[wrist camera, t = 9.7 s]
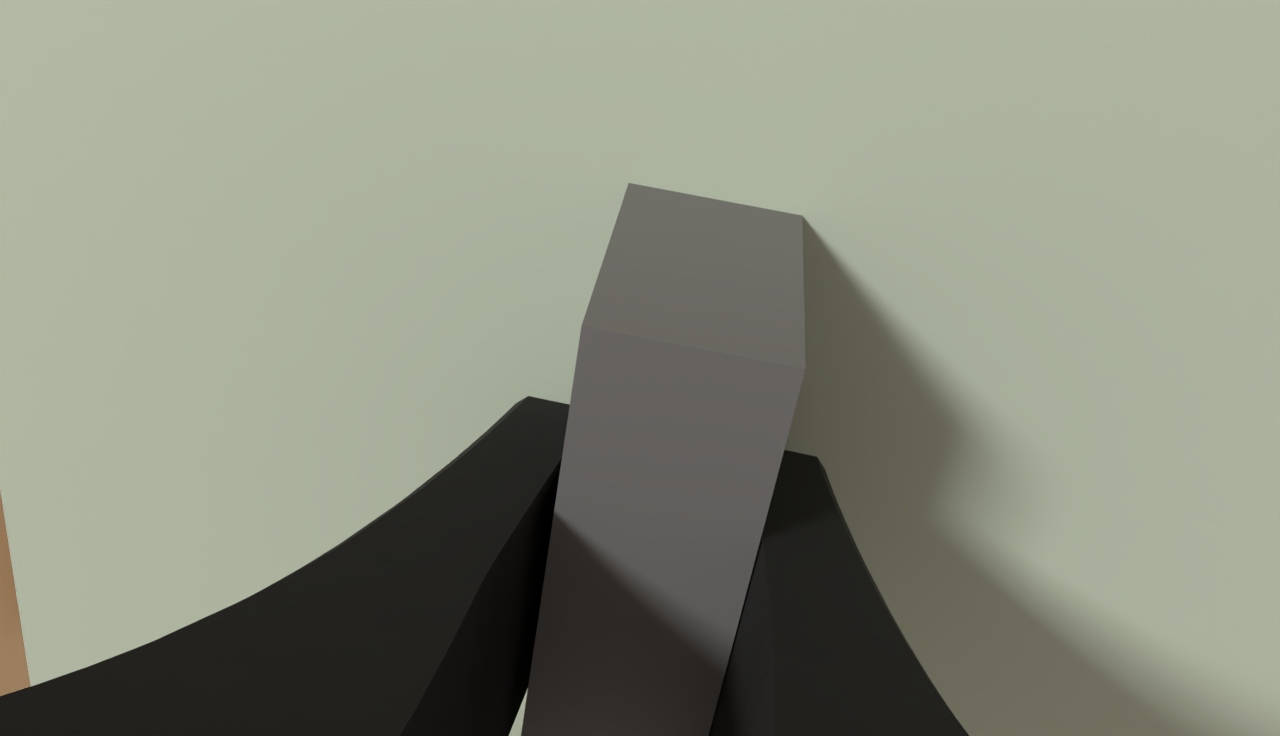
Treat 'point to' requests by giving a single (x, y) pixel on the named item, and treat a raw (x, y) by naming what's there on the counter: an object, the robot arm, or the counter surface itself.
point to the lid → (665, 325)
